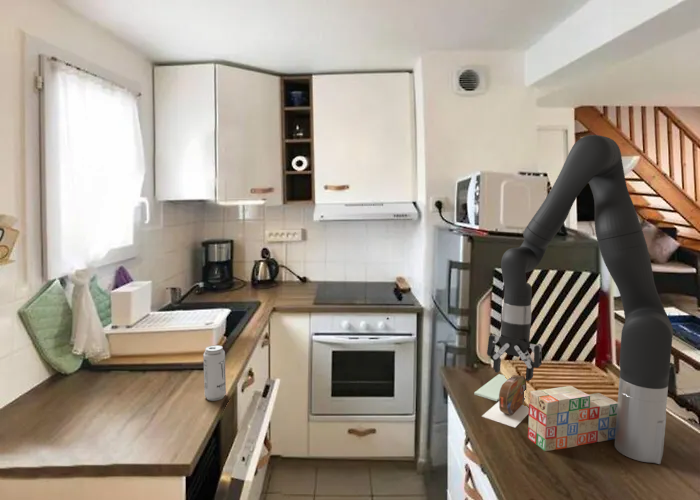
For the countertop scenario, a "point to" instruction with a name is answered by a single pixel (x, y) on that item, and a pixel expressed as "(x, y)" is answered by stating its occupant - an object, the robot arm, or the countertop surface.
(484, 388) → the pad
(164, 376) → the countertop surface
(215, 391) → the energy drink can
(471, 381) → the countertop surface
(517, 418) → the tile
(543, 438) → the stack of blocks
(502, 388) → the tin
